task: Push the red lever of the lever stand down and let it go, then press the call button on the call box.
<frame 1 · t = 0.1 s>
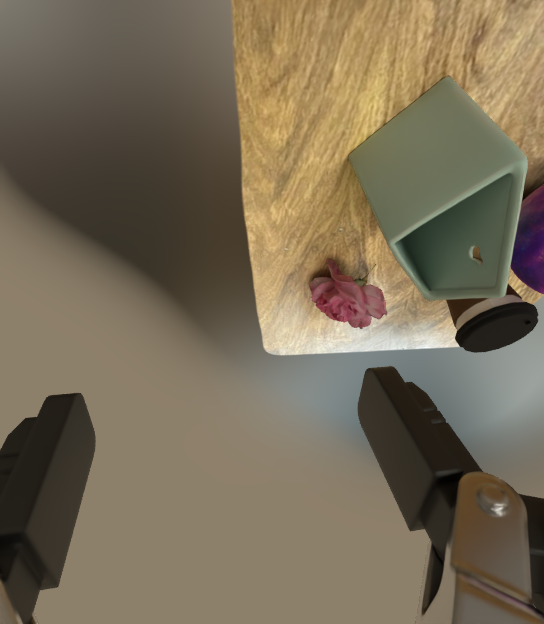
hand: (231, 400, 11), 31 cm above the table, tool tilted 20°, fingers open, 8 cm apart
flower: (337, 277, 56), on the table
coffee cup: (461, 270, 59), on the table
decorative orb: (541, 197, 49), on the table
planter: (381, 155, 41), on the table
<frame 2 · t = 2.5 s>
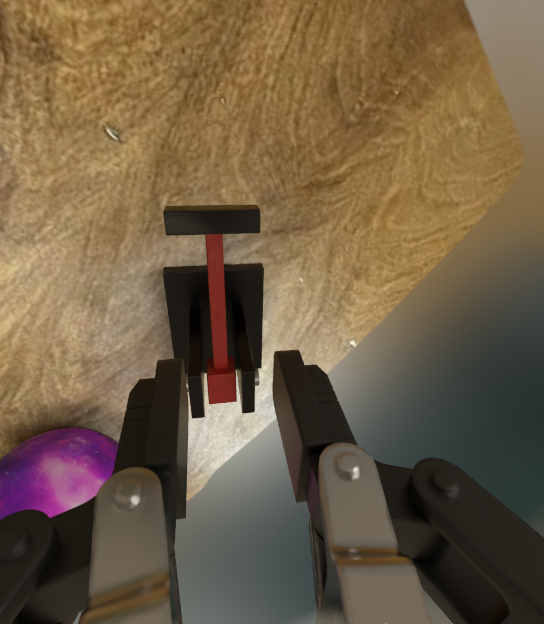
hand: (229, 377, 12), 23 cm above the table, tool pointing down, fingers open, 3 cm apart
red lever: (217, 312, 27), point 8 cm above the table, hinge at -4.9°
decorative orb: (81, 442, 44), on the table
lever stand: (216, 319, 38), on the table
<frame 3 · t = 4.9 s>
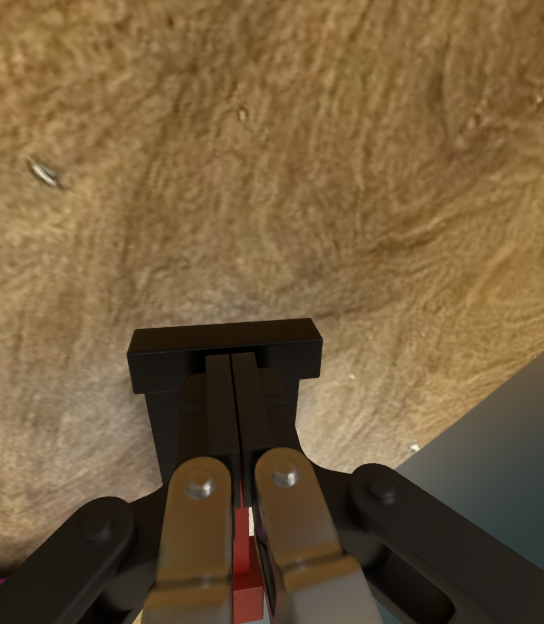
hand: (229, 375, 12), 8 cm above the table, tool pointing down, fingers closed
red lever: (234, 493, 15), point 8 cm above the table, hinge at -6.3°, touching gripper
lever stand: (226, 431, 26), on the table
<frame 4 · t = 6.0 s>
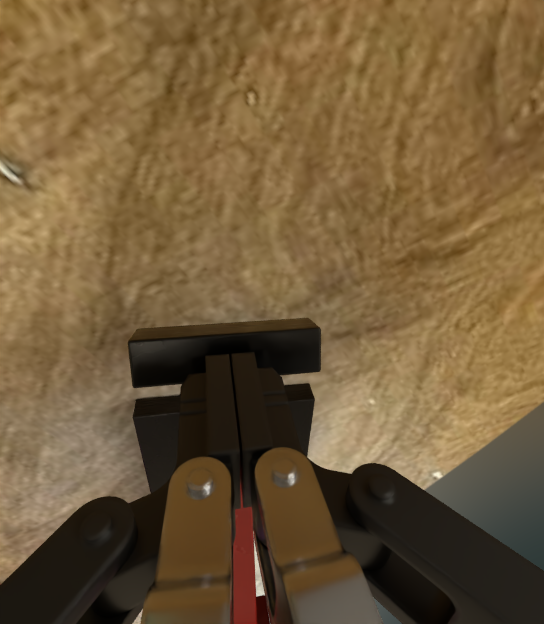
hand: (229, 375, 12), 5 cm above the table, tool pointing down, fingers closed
red lever: (237, 524, 14), point 7 cm above the table, hinge at -20.5°, touching gripper
lever stand: (228, 462, 23), on the table
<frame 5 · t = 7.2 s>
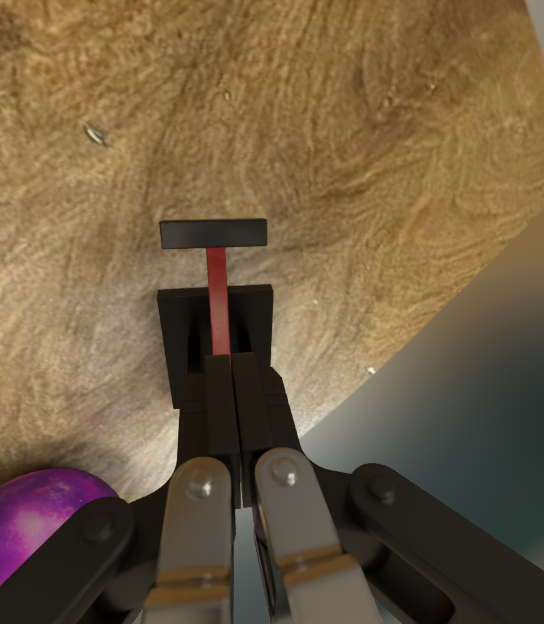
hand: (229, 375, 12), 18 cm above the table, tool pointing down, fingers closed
red lever: (220, 341, 24), point 7 cm above the table, hinge at -15.4°
decorative orb: (66, 481, 39), on the table
lever stand: (219, 346, 33), on the table
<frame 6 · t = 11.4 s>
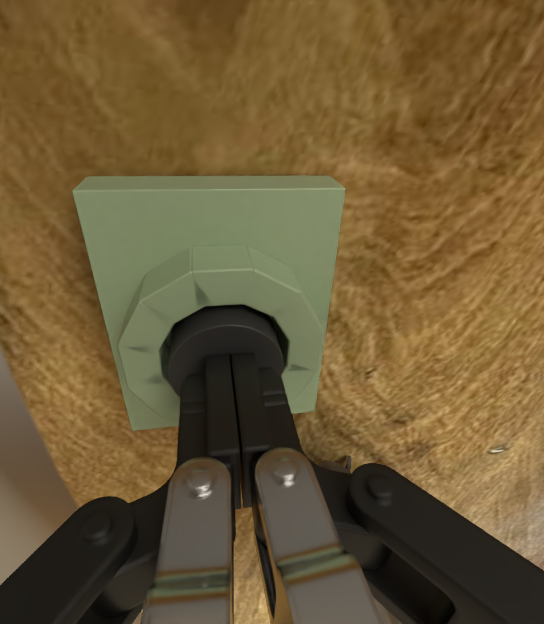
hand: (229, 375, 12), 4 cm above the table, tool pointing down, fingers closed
call button: (225, 354, 12), point 3 cm above the table, slide at -0.6 cm, touching gripper
alarm clock: (313, 463, 22), on the table
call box: (220, 303, 15), on the table
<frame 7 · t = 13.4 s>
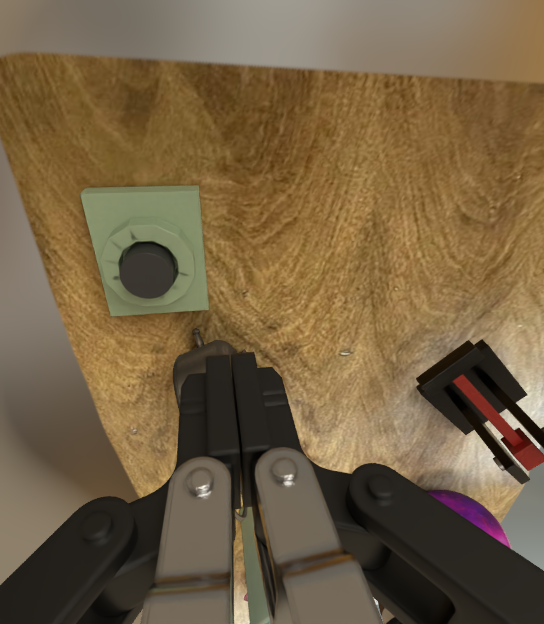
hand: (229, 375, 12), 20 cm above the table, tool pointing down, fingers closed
red lever: (489, 412, 37), point 7 cm above the table, hinge at -15.1°
call button: (148, 271, 27), point 4 cm above the table, slide at 0.1 cm
decorative orb: (423, 497, 58), on the table
alarm clock: (224, 355, 37), on the table
planter: (267, 504, 52), on the table
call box: (153, 249, 30), on the table
lever stand: (470, 387, 46), on the table
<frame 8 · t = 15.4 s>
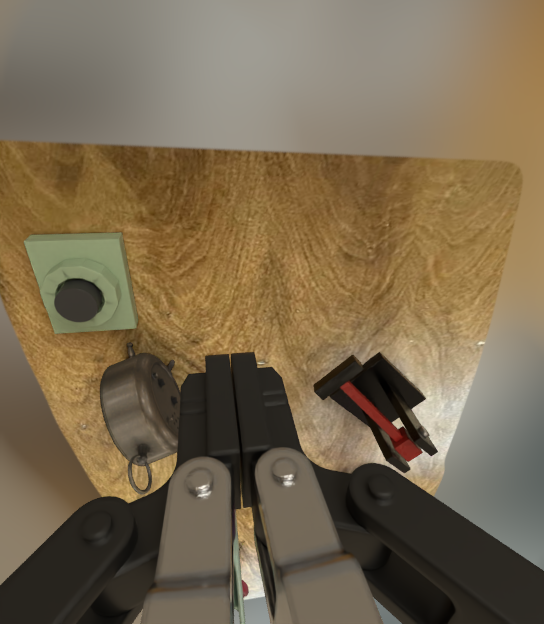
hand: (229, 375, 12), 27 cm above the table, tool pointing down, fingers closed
red lever: (374, 413, 45), point 7 cm above the table, hinge at -15.1°
call button: (78, 301, 34), point 4 cm above the table, slide at 0.1 cm
alarm clock: (156, 364, 45), on the table
planter: (208, 491, 60), on the table
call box: (89, 281, 38), on the table
lever stand: (376, 392, 54), on the table
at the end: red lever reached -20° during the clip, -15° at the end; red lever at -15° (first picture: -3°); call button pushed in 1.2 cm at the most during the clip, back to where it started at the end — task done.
